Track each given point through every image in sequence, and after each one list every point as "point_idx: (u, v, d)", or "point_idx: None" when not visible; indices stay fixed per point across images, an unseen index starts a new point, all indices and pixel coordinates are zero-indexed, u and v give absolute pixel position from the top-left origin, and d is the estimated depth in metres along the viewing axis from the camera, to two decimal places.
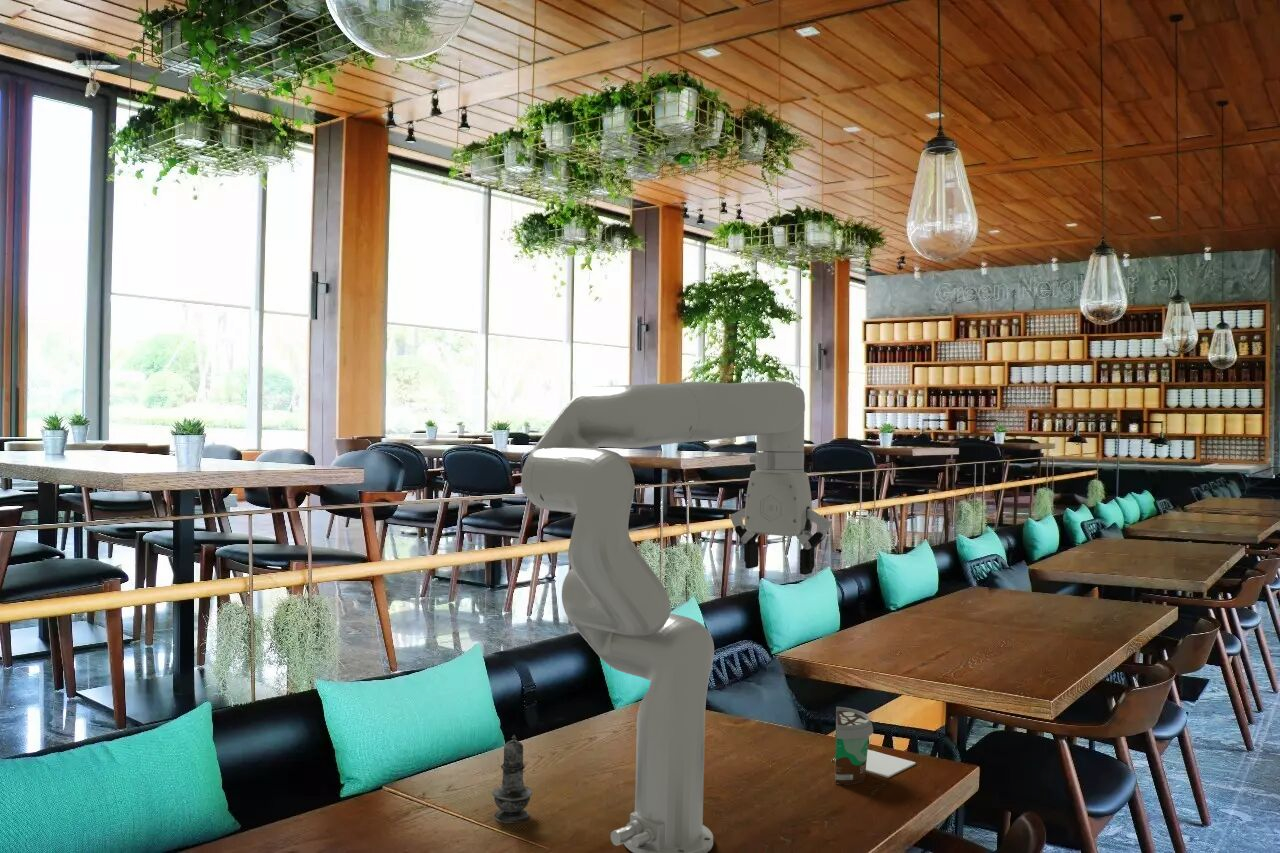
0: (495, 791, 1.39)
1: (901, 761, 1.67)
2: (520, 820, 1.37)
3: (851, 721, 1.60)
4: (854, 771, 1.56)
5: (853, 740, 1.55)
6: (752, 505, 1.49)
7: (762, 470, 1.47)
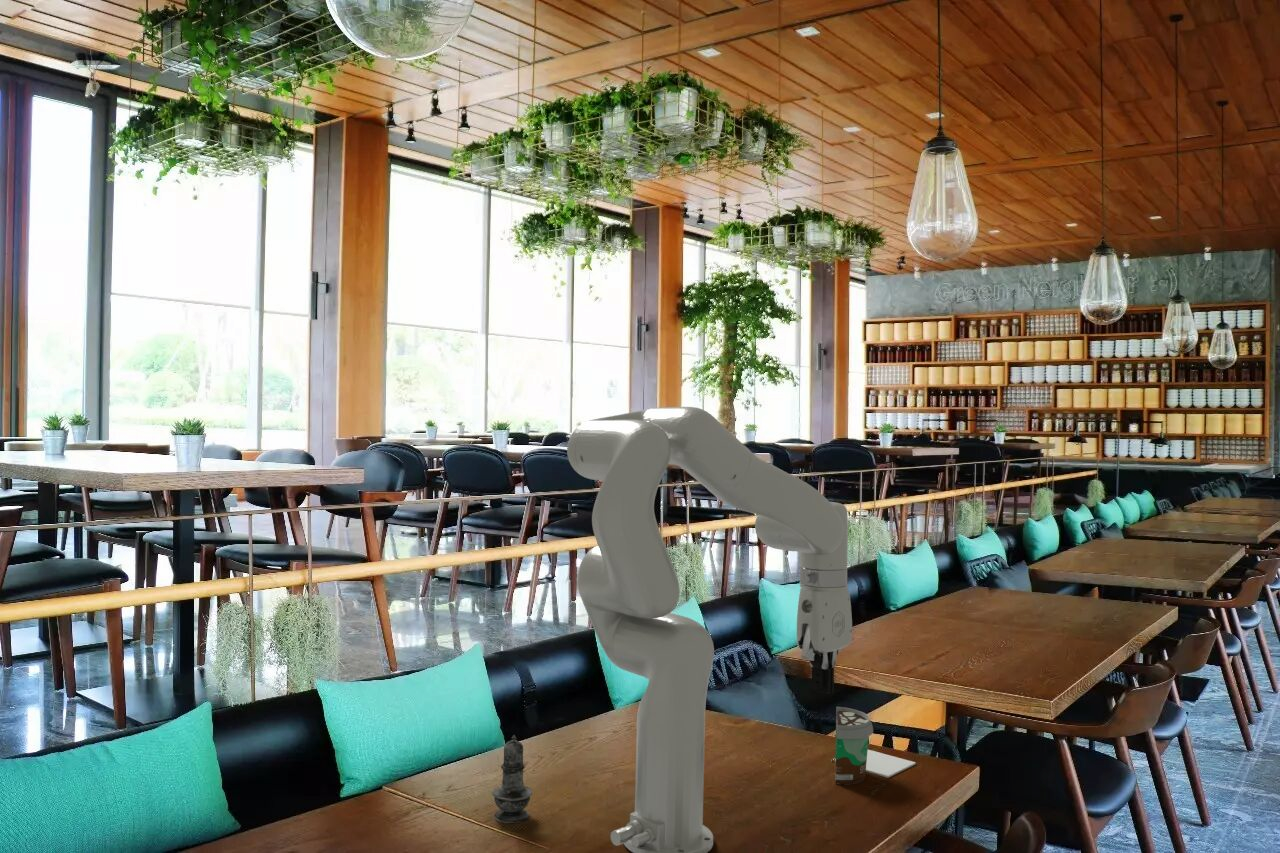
0: (495, 791, 1.39)
1: (901, 761, 1.67)
2: (520, 820, 1.37)
3: (851, 721, 1.60)
4: (854, 771, 1.56)
5: (853, 740, 1.55)
6: (826, 625, 1.48)
7: (838, 588, 1.49)
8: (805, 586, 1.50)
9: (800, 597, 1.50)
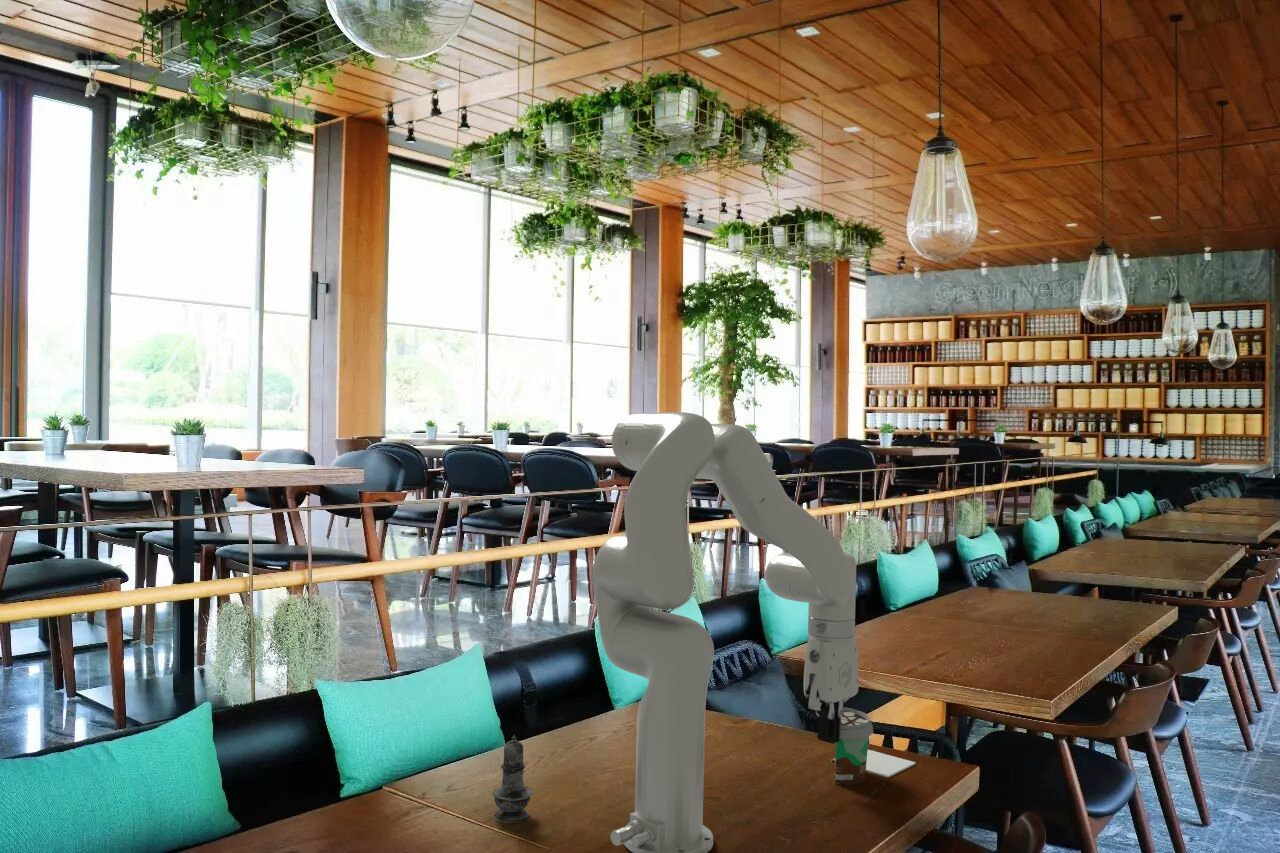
0: (495, 791, 1.39)
1: (901, 761, 1.67)
2: (520, 820, 1.37)
3: (851, 721, 1.60)
4: (854, 771, 1.56)
5: (853, 740, 1.55)
6: (833, 676, 1.50)
7: (846, 639, 1.51)
8: (813, 636, 1.52)
9: (808, 647, 1.52)
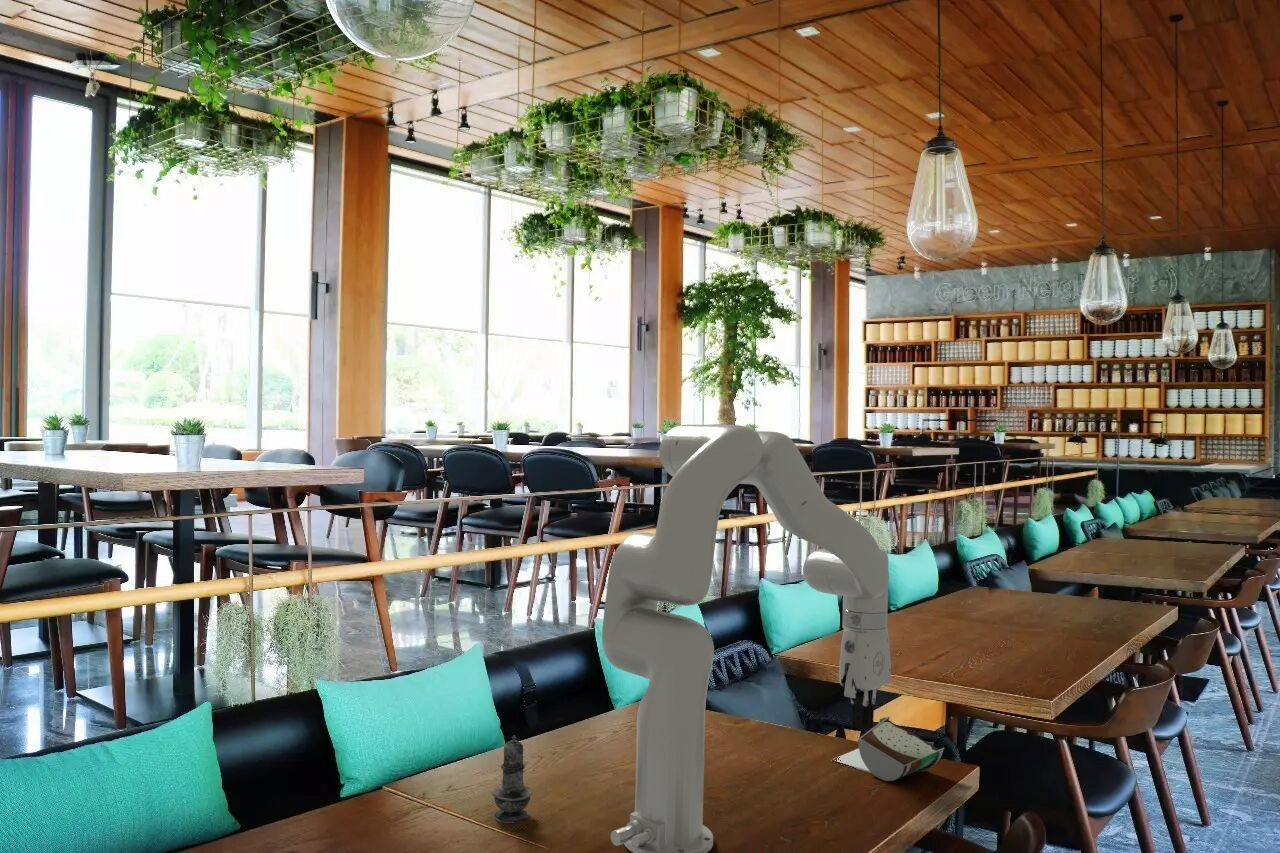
0: (495, 791, 1.39)
1: None
2: (520, 820, 1.37)
3: None
4: (905, 774, 1.57)
5: (928, 764, 1.60)
6: (867, 665, 1.57)
7: (879, 630, 1.59)
8: (848, 627, 1.60)
9: (843, 638, 1.60)
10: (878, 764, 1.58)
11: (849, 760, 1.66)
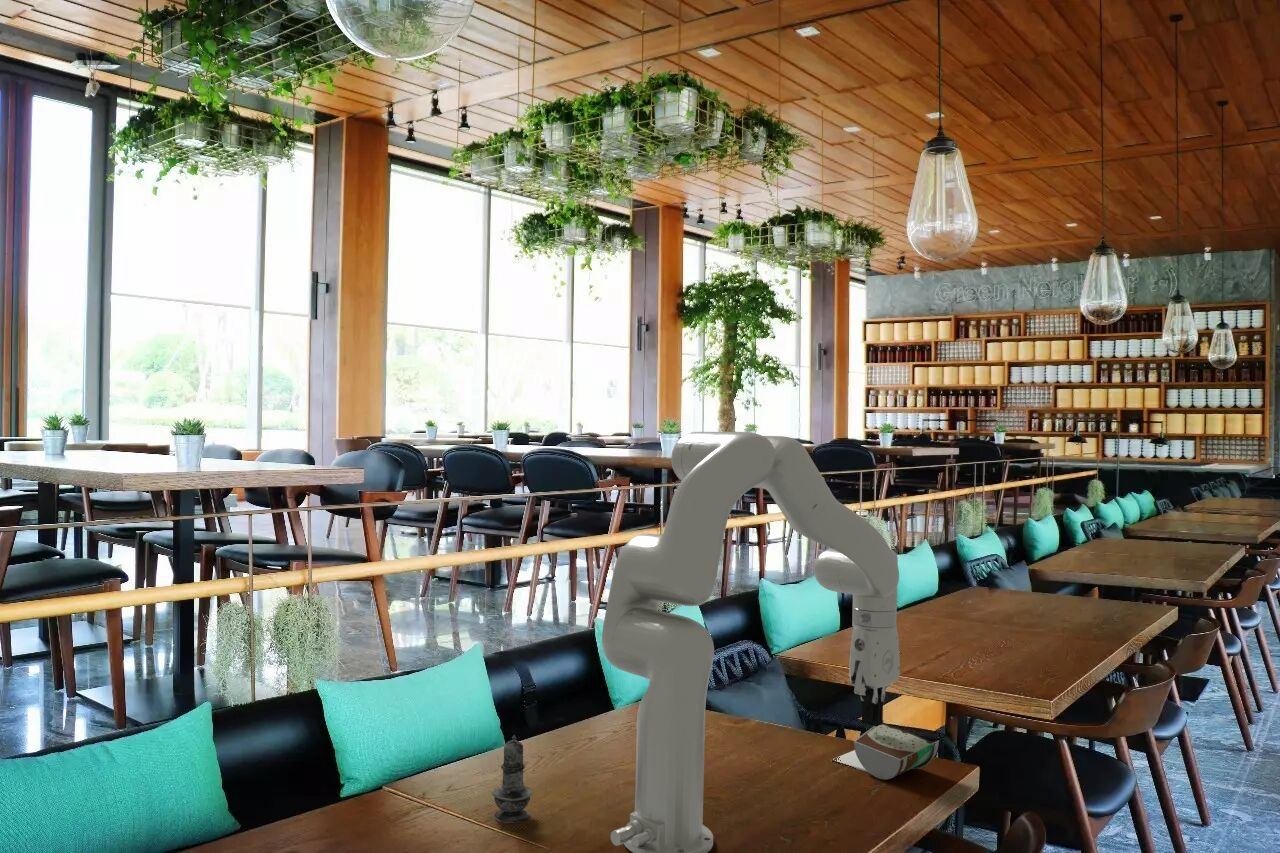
0: (495, 791, 1.39)
1: None
2: (520, 820, 1.37)
3: None
4: (904, 770, 1.57)
5: (925, 759, 1.60)
6: (877, 663, 1.60)
7: (889, 628, 1.61)
8: (858, 626, 1.62)
9: (853, 636, 1.62)
10: (876, 764, 1.59)
11: (849, 760, 1.66)
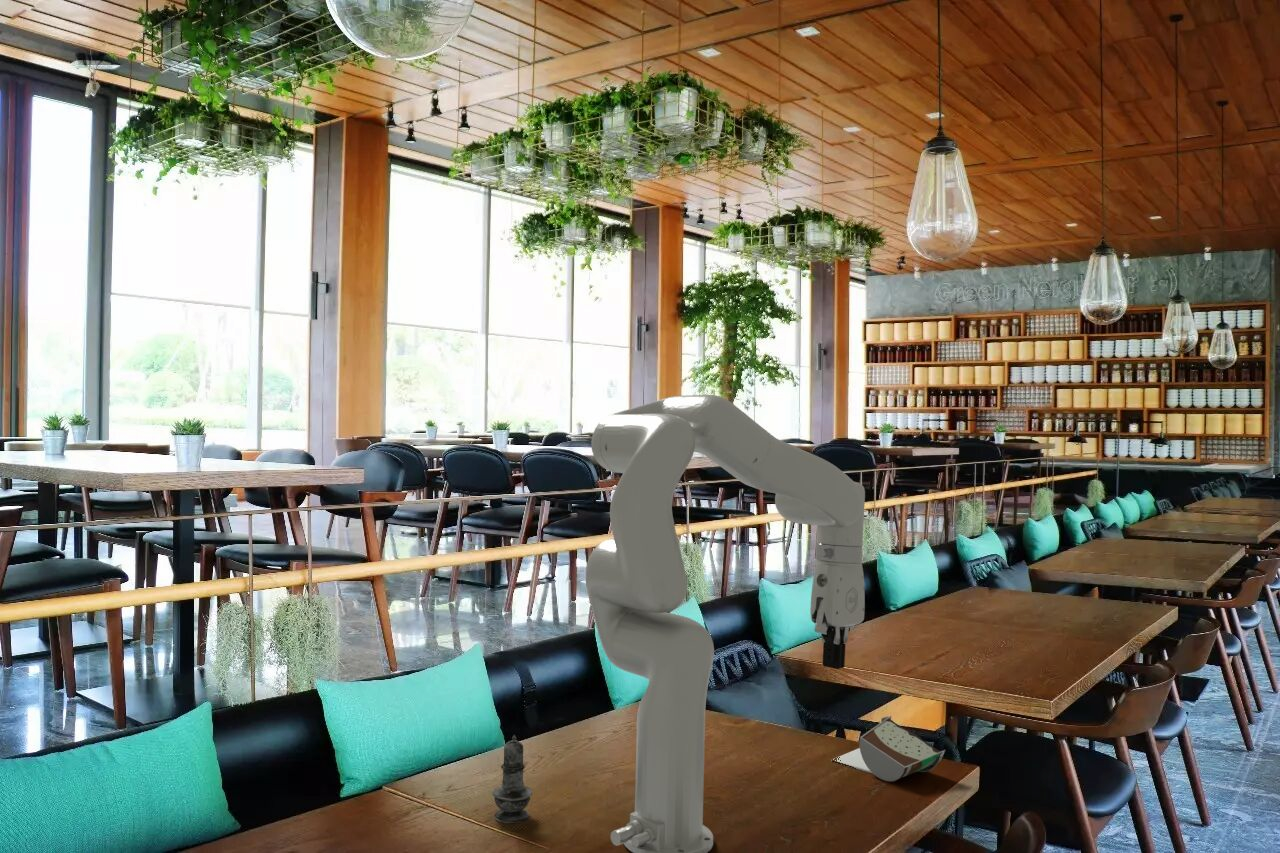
0: (495, 791, 1.39)
1: None
2: (520, 820, 1.37)
3: None
4: (905, 775, 1.57)
5: (928, 765, 1.59)
6: (840, 600, 1.51)
7: (853, 564, 1.52)
8: (821, 561, 1.54)
9: (815, 572, 1.53)
10: (878, 764, 1.58)
11: (849, 760, 1.66)
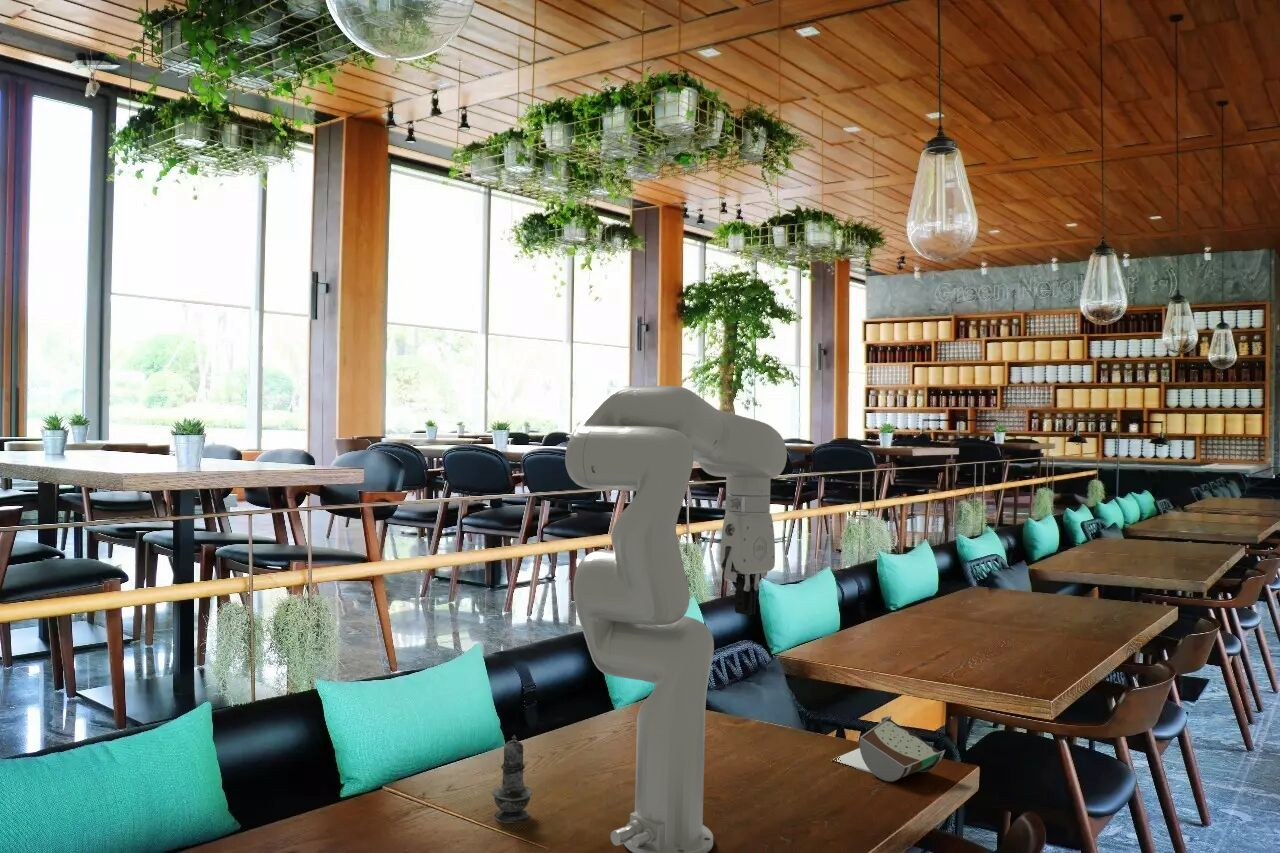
0: (495, 791, 1.39)
1: None
2: (520, 820, 1.37)
3: None
4: (905, 775, 1.57)
5: (928, 765, 1.59)
6: (747, 548, 1.56)
7: (760, 513, 1.57)
8: (729, 512, 1.59)
9: (724, 522, 1.58)
10: (878, 764, 1.58)
11: (849, 760, 1.66)
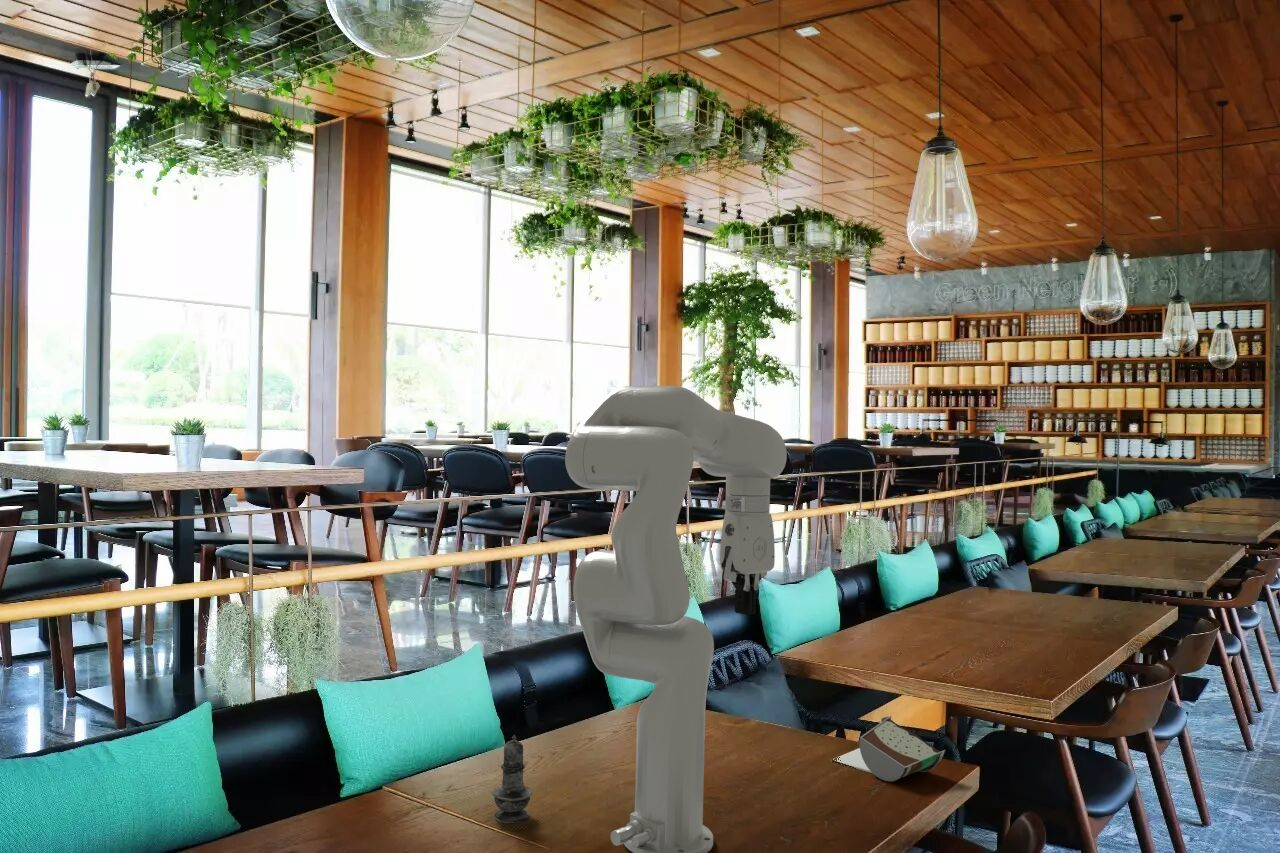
0: (495, 791, 1.39)
1: None
2: (520, 820, 1.37)
3: None
4: (905, 775, 1.57)
5: (928, 765, 1.59)
6: (747, 548, 1.56)
7: (760, 513, 1.57)
8: (729, 512, 1.59)
9: (724, 522, 1.58)
10: (878, 764, 1.58)
11: (849, 760, 1.66)
